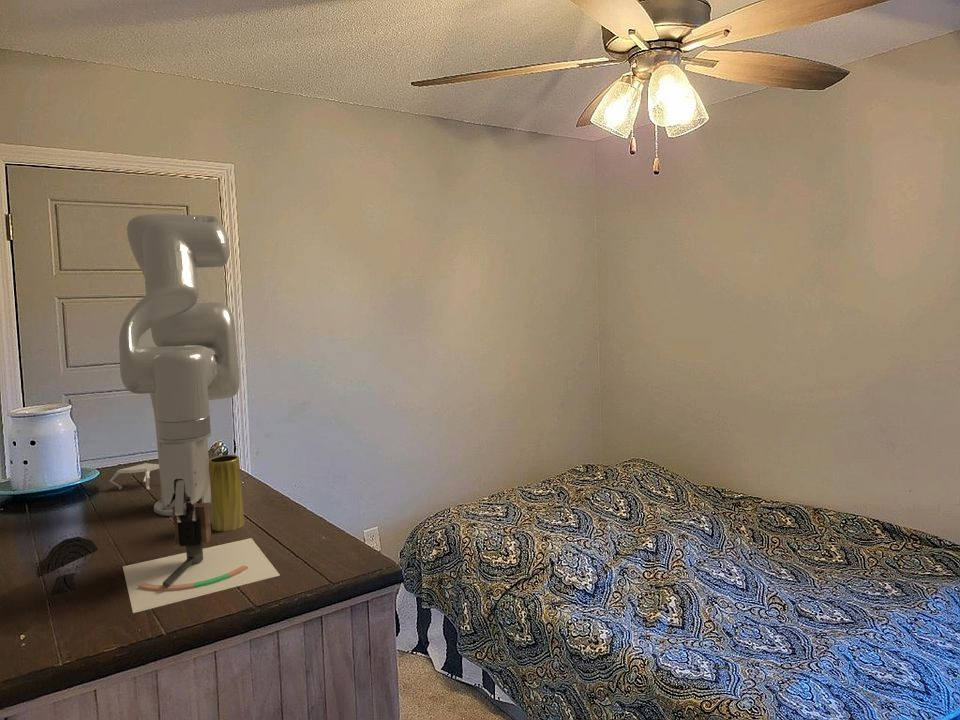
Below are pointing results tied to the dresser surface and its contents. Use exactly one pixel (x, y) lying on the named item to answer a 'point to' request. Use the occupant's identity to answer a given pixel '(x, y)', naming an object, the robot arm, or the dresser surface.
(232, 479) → the vase
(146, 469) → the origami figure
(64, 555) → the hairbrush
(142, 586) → the board
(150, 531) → the dresser surface
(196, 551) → the tuner needle gauge
